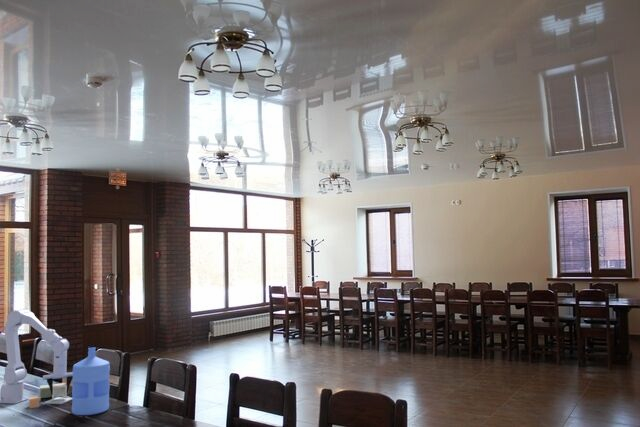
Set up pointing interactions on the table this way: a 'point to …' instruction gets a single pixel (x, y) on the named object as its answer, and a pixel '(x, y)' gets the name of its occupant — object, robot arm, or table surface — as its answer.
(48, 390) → the sage green cube
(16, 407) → the table surface
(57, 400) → the blue-grey mat
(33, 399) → the terracotta cube
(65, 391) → the tan framed cube
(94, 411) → the water jug
